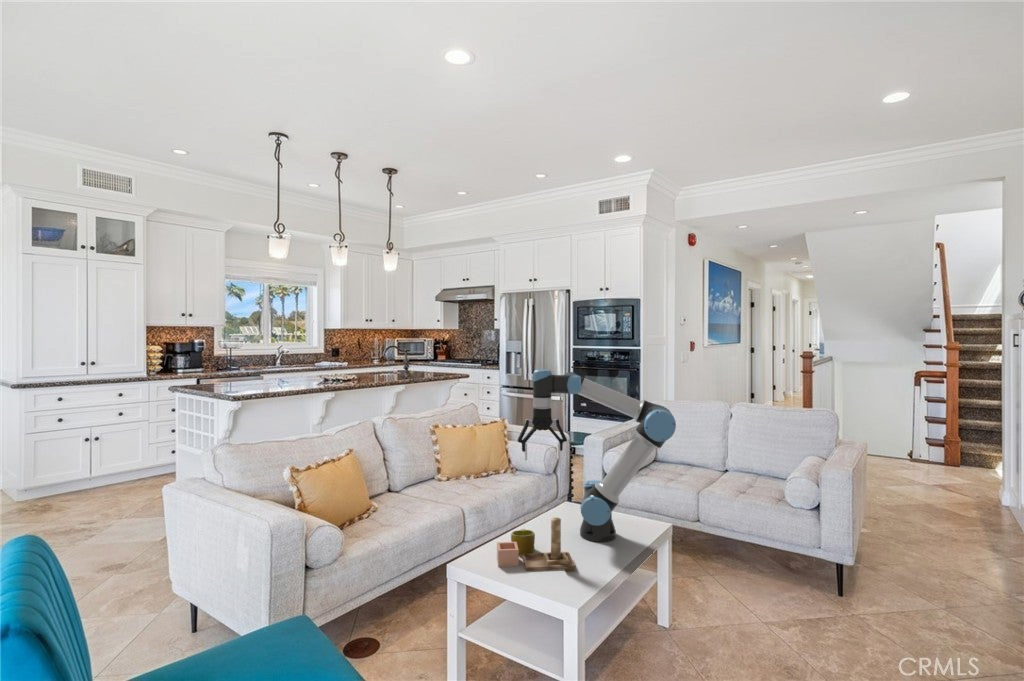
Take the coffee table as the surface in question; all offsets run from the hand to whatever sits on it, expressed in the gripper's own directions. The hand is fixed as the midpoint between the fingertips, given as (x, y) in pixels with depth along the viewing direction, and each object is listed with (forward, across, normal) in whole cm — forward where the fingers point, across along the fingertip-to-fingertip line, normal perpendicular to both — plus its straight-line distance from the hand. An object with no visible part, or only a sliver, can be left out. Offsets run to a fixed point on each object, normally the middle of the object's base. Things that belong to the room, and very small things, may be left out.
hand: (542, 459), depth 221 cm
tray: (+35, +1, +21) cm, 41 cm away
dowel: (+34, -2, +21) cm, 40 cm away
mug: (+35, +9, +7) cm, 37 cm away
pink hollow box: (+35, +16, +19) cm, 43 cm away
